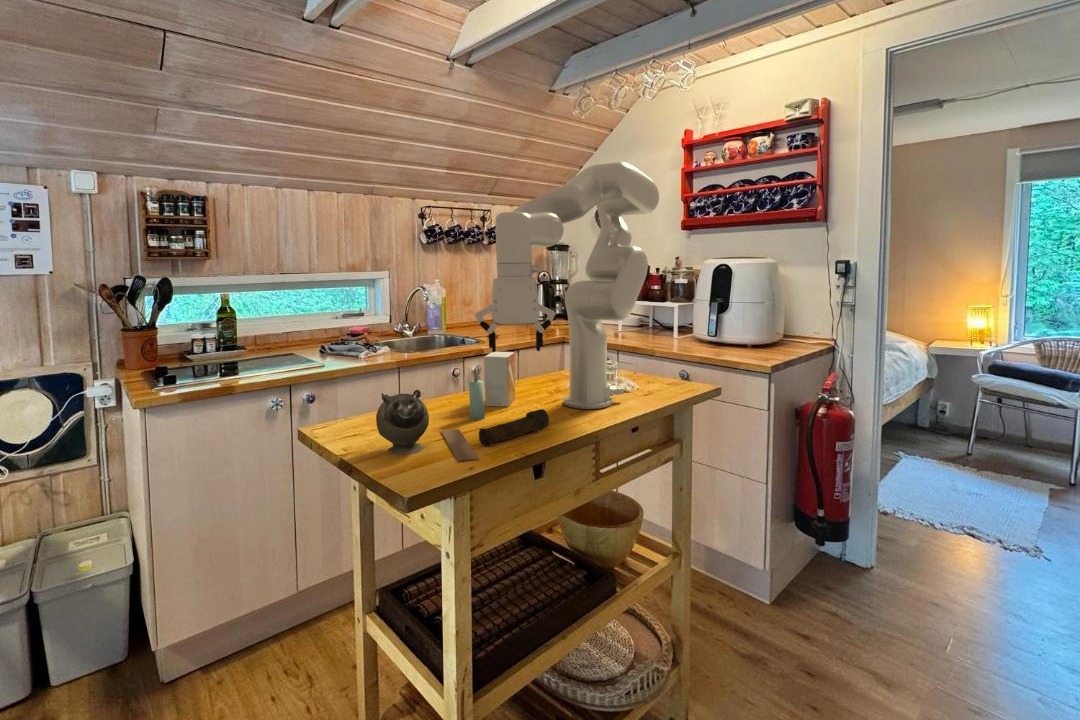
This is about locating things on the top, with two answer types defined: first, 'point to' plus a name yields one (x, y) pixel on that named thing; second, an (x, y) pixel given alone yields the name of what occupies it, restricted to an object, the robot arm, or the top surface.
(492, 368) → the small box
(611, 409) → the top surface
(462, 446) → the joist strip
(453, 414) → the top surface
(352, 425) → the top surface
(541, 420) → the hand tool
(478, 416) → the green ice pop
